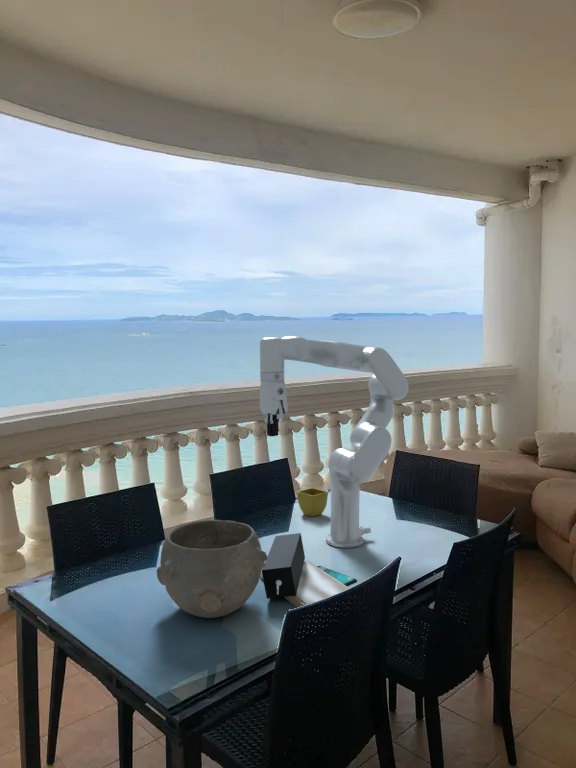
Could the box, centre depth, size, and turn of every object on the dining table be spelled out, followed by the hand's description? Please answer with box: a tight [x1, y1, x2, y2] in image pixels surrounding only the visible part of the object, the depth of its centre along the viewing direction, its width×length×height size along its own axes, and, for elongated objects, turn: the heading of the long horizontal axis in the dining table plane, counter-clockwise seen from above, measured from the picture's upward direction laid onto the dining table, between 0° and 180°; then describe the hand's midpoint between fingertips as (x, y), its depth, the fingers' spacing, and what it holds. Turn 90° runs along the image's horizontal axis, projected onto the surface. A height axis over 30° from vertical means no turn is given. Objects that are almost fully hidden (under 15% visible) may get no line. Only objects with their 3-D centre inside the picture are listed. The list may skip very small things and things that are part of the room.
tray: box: [260, 560, 350, 608], centre depth 168 cm, size 16×28×2 cm, turn 29°
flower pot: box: [296, 487, 329, 518], centre depth 236 cm, size 9×9×9 cm
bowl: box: [156, 519, 268, 619], centre depth 156 cm, size 27×29×20 cm
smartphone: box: [317, 565, 358, 587], centre depth 177 cm, size 7×1×15 cm
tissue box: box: [262, 532, 306, 600], centre depth 170 cm, size 8×8×28 cm
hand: (272, 435), depth 192 cm, fingers closed
